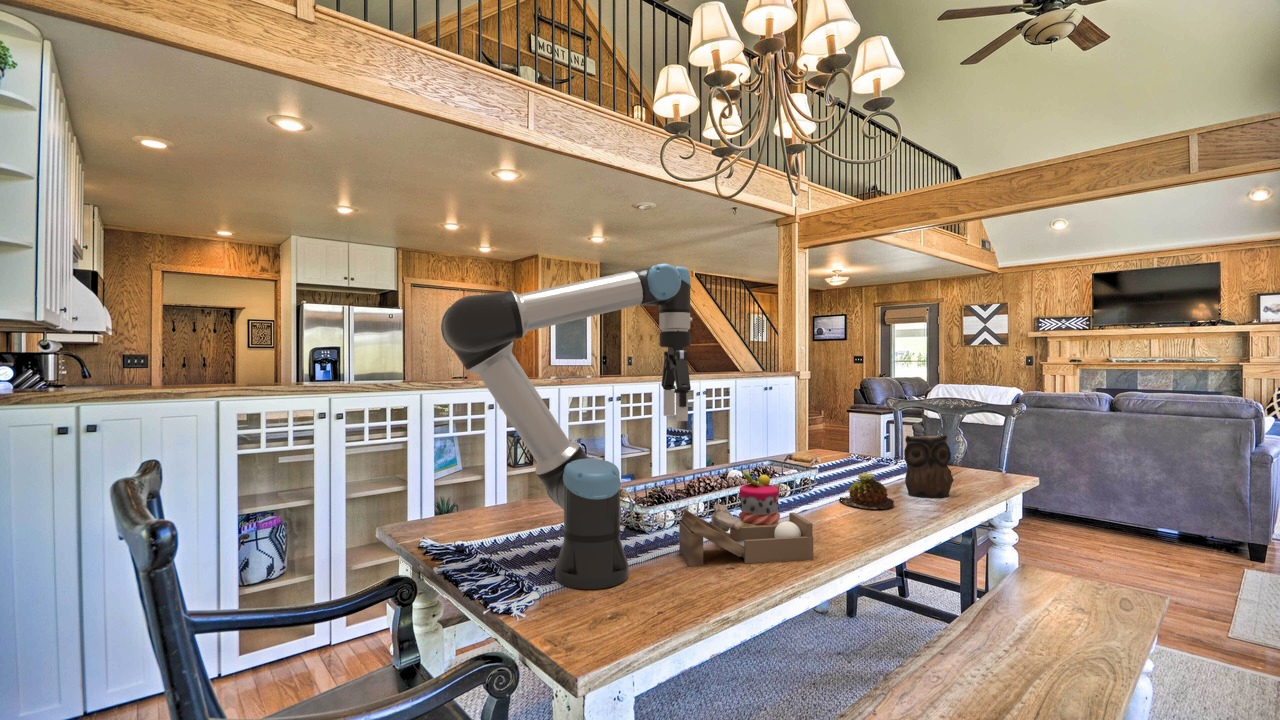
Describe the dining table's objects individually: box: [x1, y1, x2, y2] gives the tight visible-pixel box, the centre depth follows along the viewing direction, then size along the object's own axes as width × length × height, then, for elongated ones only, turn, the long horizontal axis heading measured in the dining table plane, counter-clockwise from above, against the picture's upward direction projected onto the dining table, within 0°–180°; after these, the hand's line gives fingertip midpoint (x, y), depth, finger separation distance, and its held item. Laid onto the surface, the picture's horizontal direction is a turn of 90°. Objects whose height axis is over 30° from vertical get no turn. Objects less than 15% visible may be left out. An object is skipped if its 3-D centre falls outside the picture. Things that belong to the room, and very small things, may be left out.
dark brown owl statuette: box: [903, 434, 954, 499], centre depth 198 cm, size 13×13×20 cm
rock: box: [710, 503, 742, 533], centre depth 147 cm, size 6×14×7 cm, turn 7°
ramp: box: [678, 509, 745, 567], centre depth 136 cm, size 13×10×10 cm
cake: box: [738, 471, 781, 527], centre depth 159 cm, size 10×11×15 cm
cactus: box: [838, 472, 895, 511], centre depth 187 cm, size 17×16×10 cm
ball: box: [774, 520, 801, 538], centre depth 138 cm, size 6×6×6 cm
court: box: [729, 512, 814, 565], centre depth 138 cm, size 16×11×8 cm, turn 100°
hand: (675, 418), depth 146 cm, fingers open, 13 cm apart
